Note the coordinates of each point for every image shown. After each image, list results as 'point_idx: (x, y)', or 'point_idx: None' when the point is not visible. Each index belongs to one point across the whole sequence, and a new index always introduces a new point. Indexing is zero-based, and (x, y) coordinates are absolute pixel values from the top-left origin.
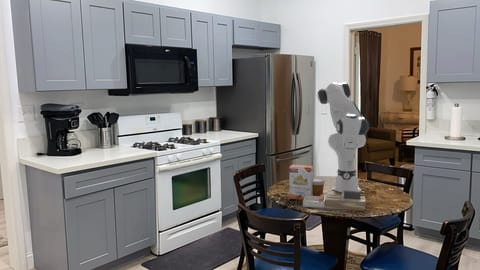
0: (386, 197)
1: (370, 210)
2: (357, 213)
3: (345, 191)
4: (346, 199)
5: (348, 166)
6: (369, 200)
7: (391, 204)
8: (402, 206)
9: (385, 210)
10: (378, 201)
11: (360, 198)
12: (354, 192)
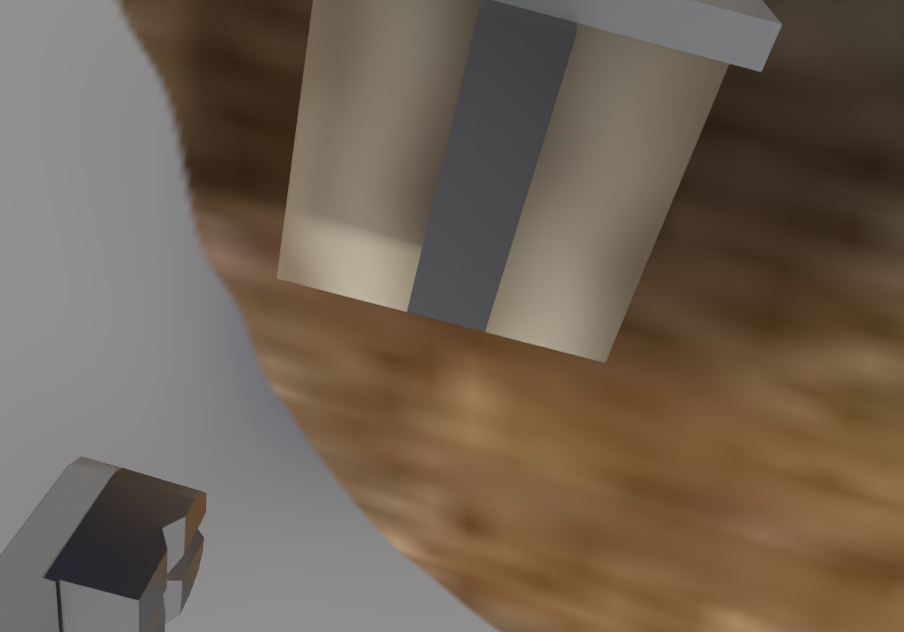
0: (869, 600)
1: None
2: (176, 78)
3: (491, 45)
4: (415, 7)
5: (30, 523)
6: (789, 400)
7: (573, 551)
8: (492, 608)
9: (343, 430)
10: (718, 478)
11: None
12: (431, 214)
